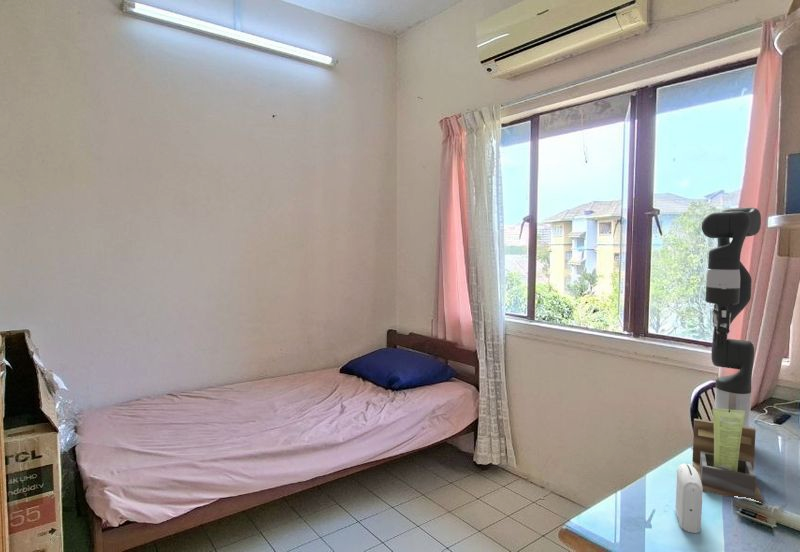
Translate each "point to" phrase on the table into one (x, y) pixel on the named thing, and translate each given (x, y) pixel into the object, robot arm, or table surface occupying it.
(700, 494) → the photo printer
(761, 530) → the table surface
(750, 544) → the table surface
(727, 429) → the tube
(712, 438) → the wall rack
